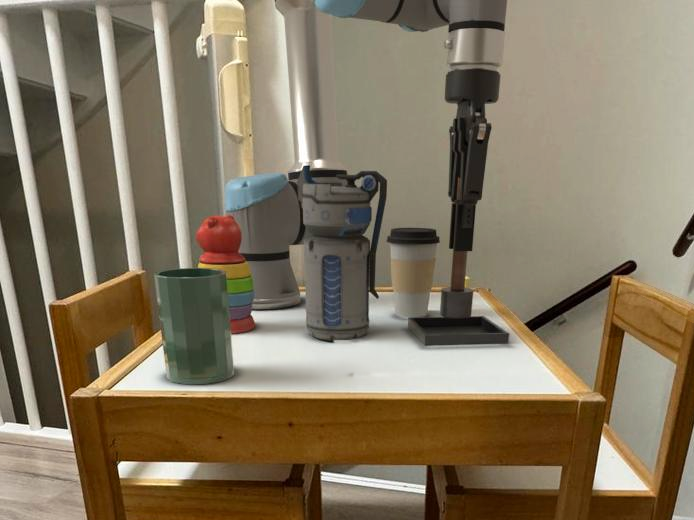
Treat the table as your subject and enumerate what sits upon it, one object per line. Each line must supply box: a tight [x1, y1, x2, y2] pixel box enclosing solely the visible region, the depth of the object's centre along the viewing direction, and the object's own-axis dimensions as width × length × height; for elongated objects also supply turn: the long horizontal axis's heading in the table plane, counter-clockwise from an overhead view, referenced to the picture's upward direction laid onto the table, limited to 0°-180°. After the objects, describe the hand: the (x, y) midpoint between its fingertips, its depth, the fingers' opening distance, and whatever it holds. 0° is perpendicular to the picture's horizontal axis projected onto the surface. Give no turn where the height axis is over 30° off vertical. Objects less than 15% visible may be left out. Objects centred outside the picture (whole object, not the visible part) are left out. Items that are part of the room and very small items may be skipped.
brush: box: [439, 178, 474, 319], centre depth 102 cm, size 5×5×20 cm
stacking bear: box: [195, 215, 256, 334], centre depth 109 cm, size 11×10×18 cm
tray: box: [407, 315, 510, 347], centre depth 107 cm, size 13×13×2 cm
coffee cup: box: [386, 227, 441, 318], centre depth 119 cm, size 9×9×15 cm
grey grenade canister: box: [298, 165, 388, 342], centre depth 103 cm, size 10×13×25 cm
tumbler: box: [153, 267, 235, 385], centre depth 85 cm, size 9×9×13 cm
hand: (460, 249), depth 102 cm, fingers closed on brush, 2 cm apart
